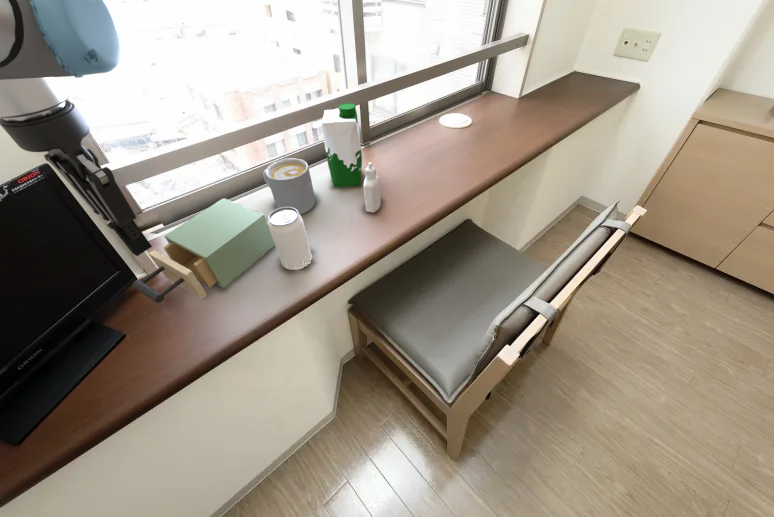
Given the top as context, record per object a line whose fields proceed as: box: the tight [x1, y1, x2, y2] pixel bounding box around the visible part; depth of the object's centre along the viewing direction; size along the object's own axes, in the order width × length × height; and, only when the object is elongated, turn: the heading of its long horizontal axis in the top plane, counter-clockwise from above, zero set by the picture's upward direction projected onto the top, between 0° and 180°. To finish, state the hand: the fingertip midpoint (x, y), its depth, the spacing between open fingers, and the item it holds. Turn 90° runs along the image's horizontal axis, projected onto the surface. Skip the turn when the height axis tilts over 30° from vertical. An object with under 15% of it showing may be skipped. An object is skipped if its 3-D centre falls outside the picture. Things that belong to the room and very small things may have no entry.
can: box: [267, 207, 313, 271], centre depth 68 cm, size 6×6×12 cm
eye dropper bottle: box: [363, 162, 382, 213], centre depth 81 cm, size 4×6×12 cm
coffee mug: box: [262, 157, 317, 215], centre depth 85 cm, size 13×10×10 cm
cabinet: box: [163, 197, 276, 289], centre depth 71 cm, size 15×13×9 cm
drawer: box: [131, 242, 218, 304], centre depth 67 cm, size 19×11×7 cm, turn 149°
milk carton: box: [321, 102, 363, 188], centre depth 87 cm, size 9×9×20 cm
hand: (142, 249), depth 57 cm, fingers closed
